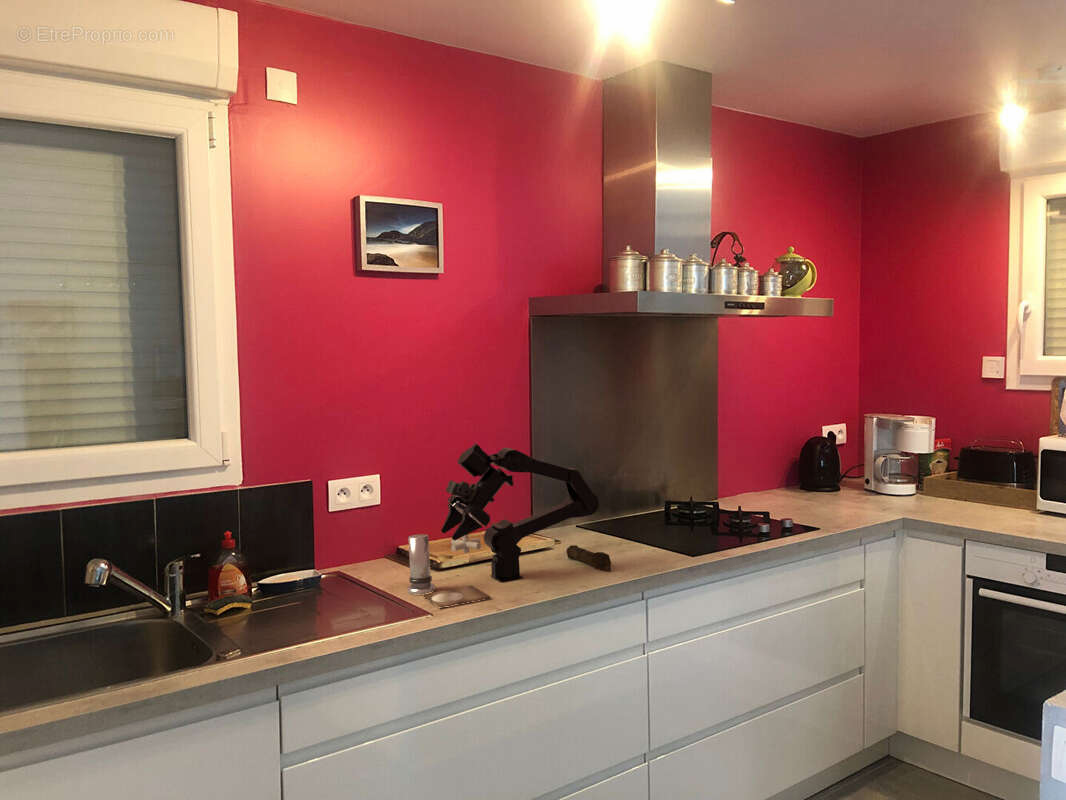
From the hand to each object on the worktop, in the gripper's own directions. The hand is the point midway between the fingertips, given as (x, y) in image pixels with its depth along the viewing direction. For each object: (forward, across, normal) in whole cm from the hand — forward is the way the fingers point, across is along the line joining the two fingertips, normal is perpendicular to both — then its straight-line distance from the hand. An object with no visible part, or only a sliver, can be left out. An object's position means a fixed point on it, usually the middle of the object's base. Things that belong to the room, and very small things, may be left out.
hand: (447, 535), depth 218 cm
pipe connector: (+1, -22, +18) cm, 28 cm away
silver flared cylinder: (+15, 0, +4) cm, 15 cm away
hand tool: (-19, 0, +38) cm, 43 cm away
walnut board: (+10, +11, +8) cm, 17 cm away
